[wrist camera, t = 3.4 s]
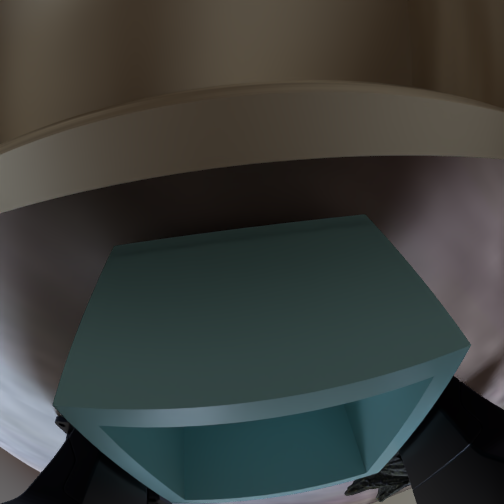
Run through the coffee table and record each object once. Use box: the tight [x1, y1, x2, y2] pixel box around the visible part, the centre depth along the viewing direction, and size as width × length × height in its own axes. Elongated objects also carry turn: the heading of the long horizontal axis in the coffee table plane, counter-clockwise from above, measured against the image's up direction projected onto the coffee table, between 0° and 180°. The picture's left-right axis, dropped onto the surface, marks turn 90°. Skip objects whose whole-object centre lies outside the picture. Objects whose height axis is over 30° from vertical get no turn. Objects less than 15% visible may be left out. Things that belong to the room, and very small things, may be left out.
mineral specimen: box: [345, 450, 411, 502], centre depth 21 cm, size 15×13×10 cm
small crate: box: [53, 214, 471, 503], centre depth 8 cm, size 7×7×5 cm
